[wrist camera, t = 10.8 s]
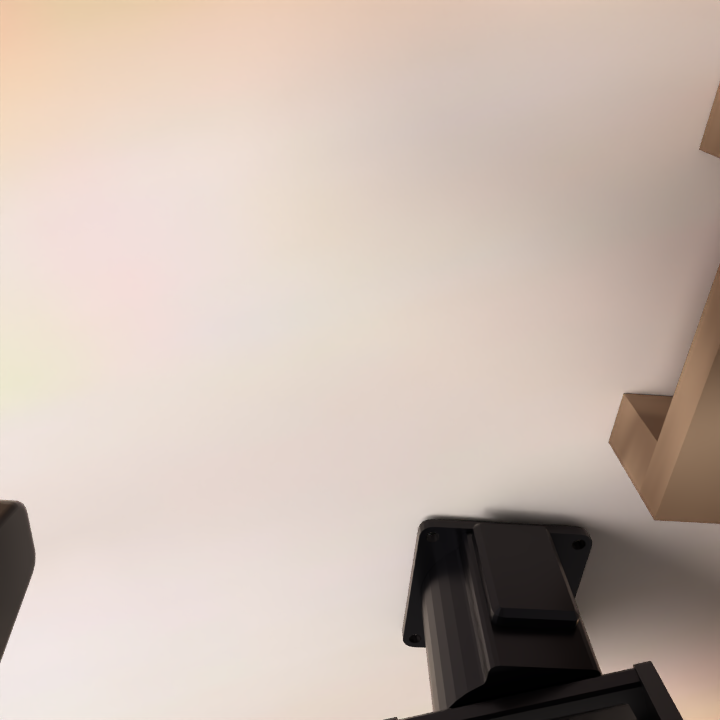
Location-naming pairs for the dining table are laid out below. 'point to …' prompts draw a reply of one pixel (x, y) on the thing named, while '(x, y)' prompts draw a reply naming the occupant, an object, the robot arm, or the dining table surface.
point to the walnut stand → (680, 417)
